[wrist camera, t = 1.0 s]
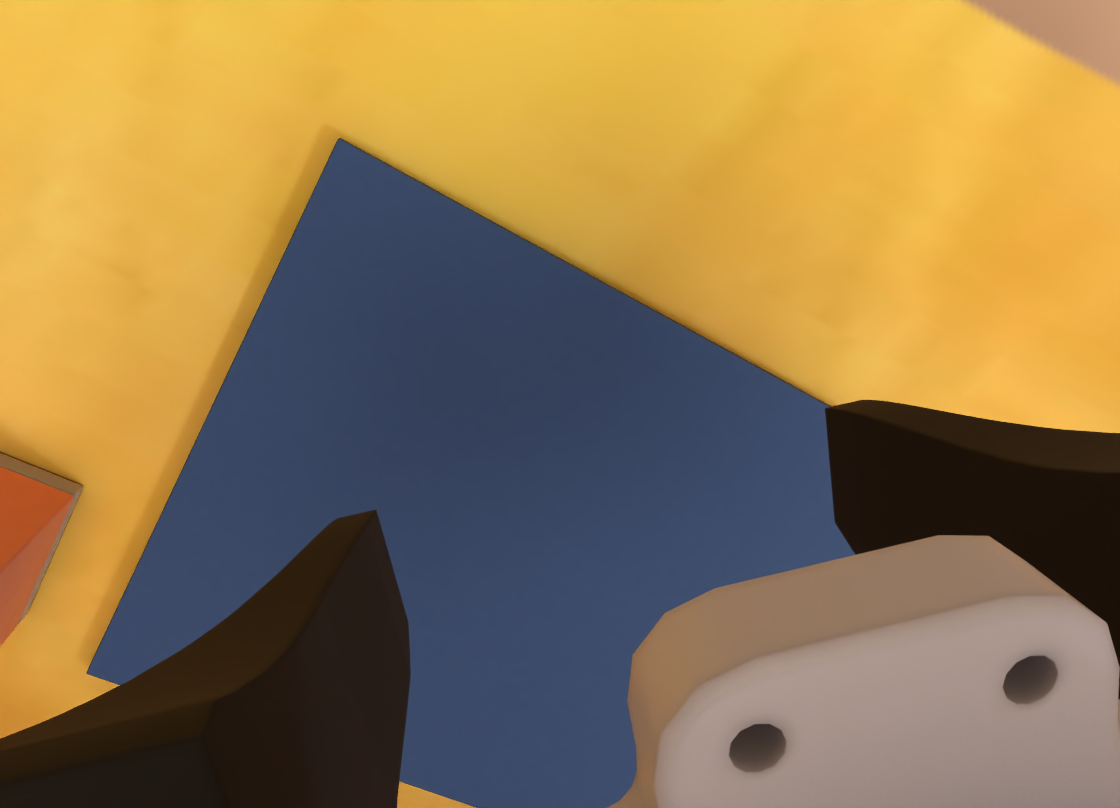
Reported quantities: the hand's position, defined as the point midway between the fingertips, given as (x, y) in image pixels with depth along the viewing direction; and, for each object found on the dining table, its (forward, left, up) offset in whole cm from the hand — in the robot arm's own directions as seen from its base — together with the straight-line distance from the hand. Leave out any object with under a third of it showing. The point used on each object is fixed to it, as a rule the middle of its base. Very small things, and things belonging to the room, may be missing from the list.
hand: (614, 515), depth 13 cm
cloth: (-6, -3, -10) cm, 12 cm away
